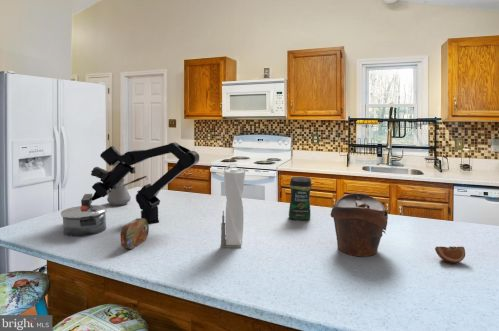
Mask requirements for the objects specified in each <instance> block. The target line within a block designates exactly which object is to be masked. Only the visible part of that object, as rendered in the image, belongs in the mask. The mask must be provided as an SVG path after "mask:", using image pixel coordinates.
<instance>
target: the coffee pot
mask: <svg viewBox="0 0 499 331" xmlns="http://www.w3.org/2000/svg"><path fill="white" fill-rule="evenodd" d="M144 179H145V180H146V181H147V180H149V177H148V176H147V175H144V176H141V177H139V178H136V179H133V180H132V181H129V182H127V183H125V181H126V178H123V179H122V180H121V181H120V182H119V183H118V186H117V187H116V188H115V189H112V190H111V189H110V190H111V192H110V193H109V194H107V198H106V200H107V202H108V204H110V205H111V206H114V207H117V206H119V207H120V206H124V205H127V204H128V203H130V201H131V199H132V197H131V195H130V193H129V191H128V189H127V187H126V186H128V185H131V184H133V183H137V182H139V181H141V180H144Z"/></svg>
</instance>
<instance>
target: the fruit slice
mask: <svg viewBox="0 0 499 331" xmlns="http://www.w3.org/2000/svg"><path fill="white" fill-rule="evenodd" d="M434 250H435V253H436V254H437V256H438V257H439V258H440V259H441V260H443V262H446V263H449V264H458V263H460V262H462V261H463V260H464V259H465V257H466V250H465V246H435V248H434Z"/></svg>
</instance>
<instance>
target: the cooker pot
mask: <svg viewBox="0 0 499 331" xmlns="http://www.w3.org/2000/svg"><path fill="white" fill-rule="evenodd" d="M106 217H107V215H106V212H105V213H104V214H101V215H98V216H94V217H89V218H78V219H71V218H64V217H62V225H63V226H62V228H63V235H64V236H67V237H73V238H74V237H75V238H77V237H78V238H79V237H87V236H93V235H97V234H100V233H103V232H104V231H106V230H107V218H106Z"/></svg>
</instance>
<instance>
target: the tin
mask: <svg viewBox="0 0 499 331" xmlns="http://www.w3.org/2000/svg"><path fill="white" fill-rule="evenodd" d="M149 227H150V225H149V223H148V222H147V220H146V219H145V218H141V217H140V218H139V217H138V218H136V219H133V220H132V221H130V222H128V223H126V224H125V225H124V226H122V228H121V231H120V233H119V234H120V244H121V246H122V248H124V249H127V250H128V249H130V250H133V249H135V248H137V247H138V246H139V245H140V244H142V243H144V242H145V241H146V240H147V238H148V235H149V229H150V228H149Z"/></svg>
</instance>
